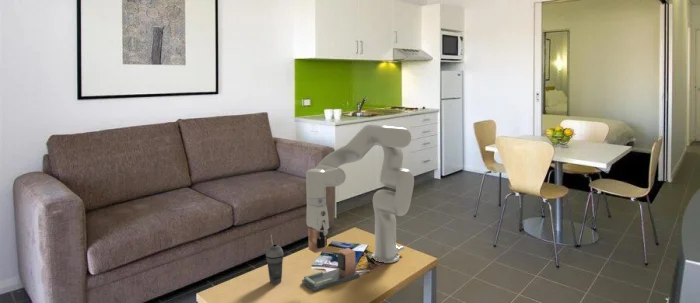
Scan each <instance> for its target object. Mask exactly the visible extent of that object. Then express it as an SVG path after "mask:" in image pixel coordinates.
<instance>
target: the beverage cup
mask: <svg viewBox="0 0 700 303" xmlns="http://www.w3.org/2000/svg"><path fill="white" fill-rule="evenodd" d="M270 240H271V245H269V247H268V248H266V252H265V259H266V262H267V271H268V277H269V282H270V284H271V285H279V284H281V283H282V278H283V264H284V263H283V262H284V261H283V260H284V255H285V253H284V251H283V248H282V247H281V246H280V245H278V244H274V242H273V235H272V234H270Z"/></svg>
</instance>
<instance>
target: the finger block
mask: <svg viewBox="0 0 700 303" xmlns="http://www.w3.org/2000/svg"><path fill="white" fill-rule="evenodd" d="M320 230H322V228H321V229H320ZM321 233H322V232H320V234H321ZM307 236H308V238H307V239H308V250H310V251H311V252H313V253H314V254H318V253H322V252H325V251H327V246H328V234H327V235H326V237H325V247H323V248H319V249H318V248H317V238H318V234H317V231H316V230H314V229H312V228H310V227H308V226H307Z"/></svg>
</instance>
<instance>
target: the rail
mask: <svg viewBox="0 0 700 303" xmlns="http://www.w3.org/2000/svg"><path fill="white" fill-rule="evenodd" d="M357 278H360V273H359V272H357V270H356V251H355V250H353V249H351V248H349V247H347V248H343V249H340V250H338V253H337V268H336V269H333V270H330V271H326V272H323V271H319V272H315V273H312V274H308V275H305V276H303V279H301V283H302V285H304V286H305V287H306V288H308V289H309V290H310V291H312V292H317V291H320V290H322V289H326V288H330V287H331V286H332V287H333V286H334V285H340V284H341V283H344V282H345V283H346V282H347V281H351V280H353V279H357Z"/></svg>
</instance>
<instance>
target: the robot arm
mask: <svg viewBox="0 0 700 303" xmlns="http://www.w3.org/2000/svg"><path fill="white" fill-rule="evenodd" d="M411 141H412V134H411V132H410V131H409V129H407V128H405V127H398V126H392V125H391V126H389V125H384V124H382V125H380V124H370V123H369V124H367V125H364V126H363V127H362V128H361V129H360V130H359V131H358V133H356V134H355V135H354V137H353V138H352V139H350V141H349V142H347V143H346V145H344V146H341V147H339V148H337V149H336V150H333V151H331V152H330V153H328V154H327V155H325V156H324V157H323V159H321V160H320V161H319V162H318V164H317V165H316V166H315V167H314V168H310V169H307V171H306V172H305V178H306V179H305V184H306V187H305V188H306V191H305V192H306V211H305V212H306V213H305V216H306V219H305V222H306V223H305V224H306V226H307V228H308V227H310V228H312V229H314V230H316V231H317V234H318V238H317V248H318V249H319V248H323V247H325V237H326V235H327V236H328V234H329V230H330V229H329V228H330V224H329V219H330V218H329V213H328V207H327V188H328V187H339V186H341V185H342V184H344V183H345V181H346V178H347V177H346V176H347V175H346V172H345V170H343V169H342V168H341V166H343V165H345V164H350V163H355V162H358V161H360V160H361V161H362V159H363V158H364V157H365V156H366V155H367V153H369V152H370V150H371V149H373V147H374V146H379V147H381V149H382V150H383V151H382V152H383V162H382V166H381V170H380V171H381V172H380V177H379V178H380V180H379V182H380V183H381V185H382V186H384V187H386V188H390V189H393V190H395V191H393V190H388V189H379V190H376V192H374V194H373V197H372V208H373V211H374V252H372V254H371V257H372V256H373V258H374V259H375V258H377V259H376V260H377V261H380V262H384V263H383V264H391V263H395V262H396V263H397V261H399V260H400V254H399V252H401V251H404V250H405V248H404V246H401V245H400V246H398V245H397V219H396V216H398V217H402V216H403V217H404V216H405V215H406V214H407V213H408V211H409V209H410V207H411V201H412V197H413V191H414V188H415V186H414V185H415V177H414V174H413V172H412V171H411V170H409V169H407V168H403V159H404V154H403V149H404V148H406V147H408V146H409V145H410V144H411ZM321 228H322V230H320V229H321ZM320 232H322V233H321V234H320Z"/></svg>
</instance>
